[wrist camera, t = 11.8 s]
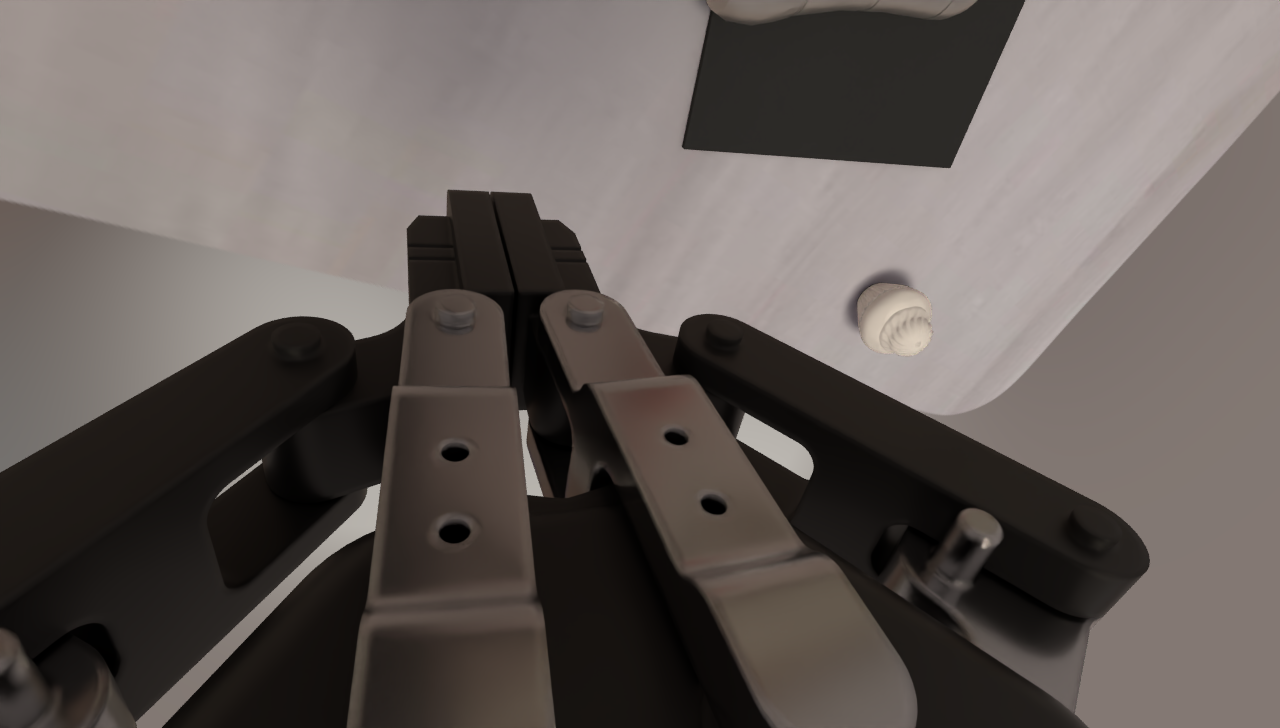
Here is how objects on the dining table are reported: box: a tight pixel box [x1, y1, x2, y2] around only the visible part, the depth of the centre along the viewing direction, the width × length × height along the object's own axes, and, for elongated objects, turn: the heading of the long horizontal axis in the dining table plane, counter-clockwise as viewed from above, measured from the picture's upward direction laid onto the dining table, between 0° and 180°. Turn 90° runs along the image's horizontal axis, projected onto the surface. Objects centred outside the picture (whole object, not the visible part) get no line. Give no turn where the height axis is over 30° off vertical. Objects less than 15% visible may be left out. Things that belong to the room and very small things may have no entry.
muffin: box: [857, 283, 933, 356], centre depth 58 cm, size 6×6×7 cm
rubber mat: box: [682, 0, 1025, 168], centre depth 46 cm, size 14×22×1 cm, turn 81°
